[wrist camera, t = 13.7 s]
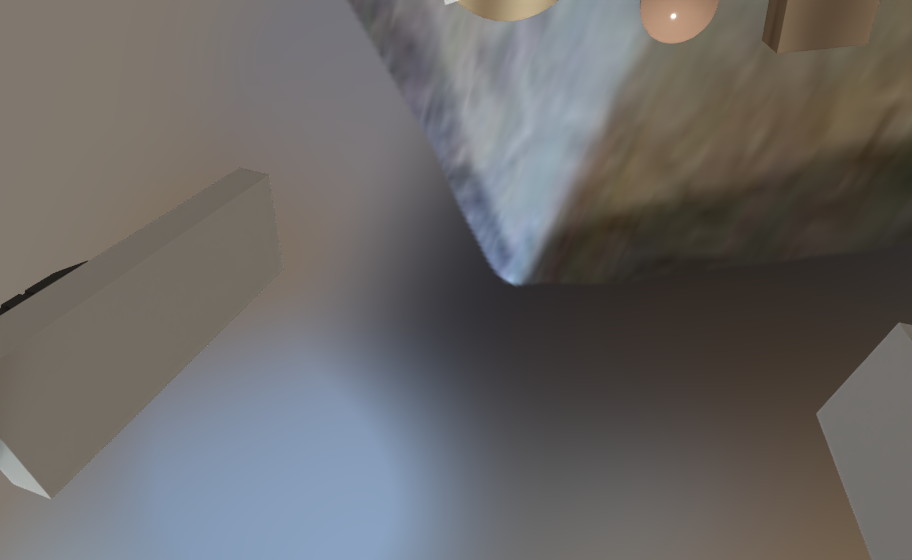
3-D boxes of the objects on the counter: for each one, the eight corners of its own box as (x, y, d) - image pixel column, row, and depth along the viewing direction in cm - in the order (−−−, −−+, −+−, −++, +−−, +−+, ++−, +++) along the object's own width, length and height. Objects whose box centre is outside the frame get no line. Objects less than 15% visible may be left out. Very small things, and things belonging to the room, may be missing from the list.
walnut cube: (863, -52, 29) (894, -49, 25) (841, 31, 31) (867, 44, 28) (775, -39, 30) (794, -34, 27) (761, 39, 33) (777, 53, 29)
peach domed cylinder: (722, -38, 31) (732, -34, 28) (695, 37, 34) (702, 48, 30) (652, -47, 32) (654, -44, 29) (631, 27, 34) (631, 37, 31)
